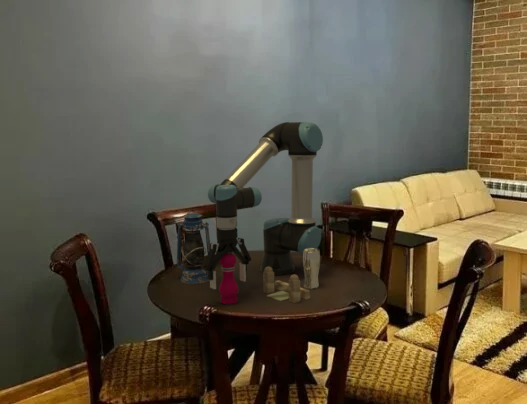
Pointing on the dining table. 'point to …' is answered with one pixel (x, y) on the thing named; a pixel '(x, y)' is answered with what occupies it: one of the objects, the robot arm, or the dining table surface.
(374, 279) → the dining table surface
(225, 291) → the pepper mill
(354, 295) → the dining table surface
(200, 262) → the lantern
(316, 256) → the beer glass
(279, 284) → the wooden toy blocks
